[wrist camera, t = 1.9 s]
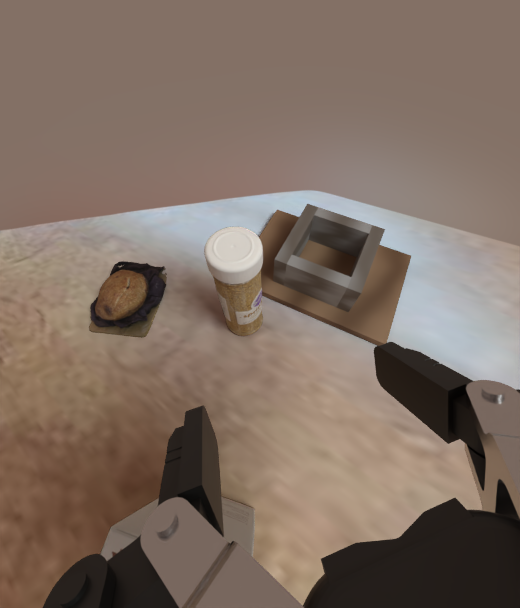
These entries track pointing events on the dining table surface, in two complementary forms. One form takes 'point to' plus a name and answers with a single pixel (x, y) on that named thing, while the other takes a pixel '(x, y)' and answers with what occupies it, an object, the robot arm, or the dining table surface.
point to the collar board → (333, 271)
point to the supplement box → (129, 529)
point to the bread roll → (128, 300)
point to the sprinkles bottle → (237, 276)
